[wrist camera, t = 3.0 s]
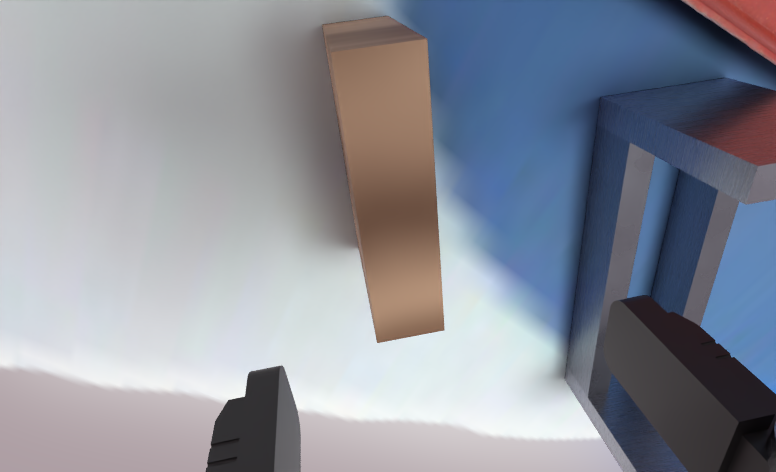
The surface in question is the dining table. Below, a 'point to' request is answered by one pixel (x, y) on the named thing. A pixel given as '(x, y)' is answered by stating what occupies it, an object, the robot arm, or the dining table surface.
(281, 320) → the dining table surface
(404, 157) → the door panel
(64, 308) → the dining table surface
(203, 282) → the dining table surface
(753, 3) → the plant saucer
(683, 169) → the grey desk caddy
